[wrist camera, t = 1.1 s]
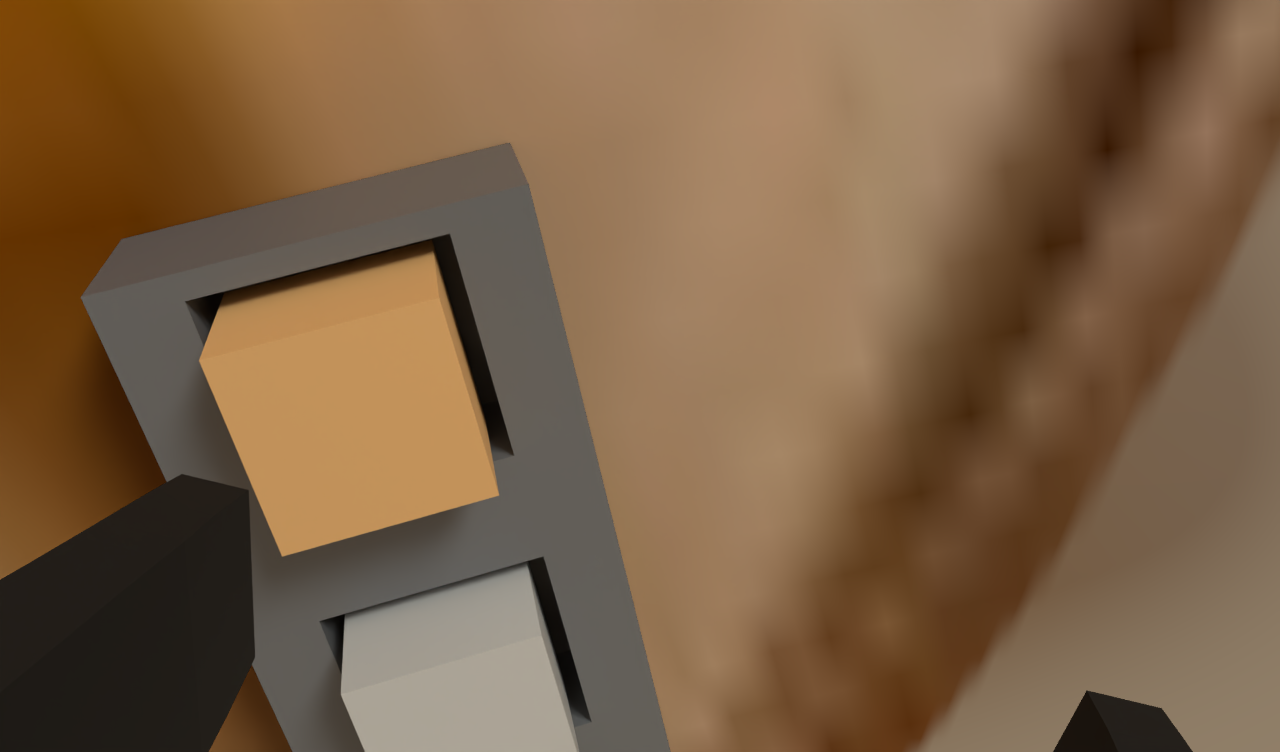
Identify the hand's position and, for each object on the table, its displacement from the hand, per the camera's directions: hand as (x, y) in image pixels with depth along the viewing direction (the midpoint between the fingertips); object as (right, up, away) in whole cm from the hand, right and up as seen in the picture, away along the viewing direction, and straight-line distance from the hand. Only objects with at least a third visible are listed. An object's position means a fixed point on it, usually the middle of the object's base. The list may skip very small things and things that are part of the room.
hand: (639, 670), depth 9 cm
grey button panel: (-3, -1, +11) cm, 11 cm away
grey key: (-3, -2, +9) cm, 10 cm away
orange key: (-4, +3, +7) cm, 8 cm away
